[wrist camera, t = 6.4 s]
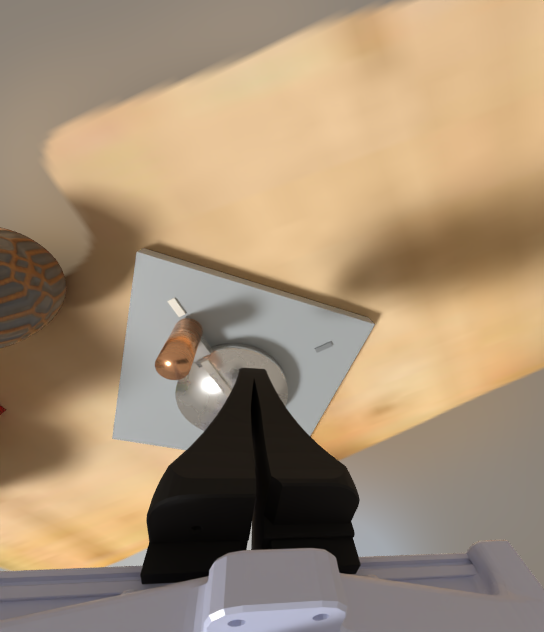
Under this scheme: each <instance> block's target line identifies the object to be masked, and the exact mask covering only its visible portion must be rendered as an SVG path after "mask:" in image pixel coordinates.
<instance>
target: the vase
mask: <svg viewBox="0 0 544 632" xmlns="http://www.w3.org/2000/svg"><path fill="white" fill-rule="evenodd" d="M65 295H66V282H65V277H64V274H63V271H62V269H61V267H60V265H59V264H58V262H57V261H56V259H55V258H54V257H53V256H52V255H51V254H50V253H49V252H48V251H47V250H46V249H45V248H43V247H42V246H41V245H40V244H38V243H37V242H35V241H34V240H32V239H30V238H28V237H26V236H24V235H22V234H20V233H17V232H14V231H11V230H8V229H5V228H1V227H0V348H4V347H7V346H10V345H12V344H15V343H17V342H20V341H22V340H24V339H26V338H27V337H29V336H31V335H33V334H34V333H36V332H37V331H39V330H40V329H41V328H43V327H44V326H45V325H46V324H48V323H49V322H50V321H51V320H52V319H53V317H54V316H55V315H56V314H57V312H58V311H59V309H60V308H61V306H62V304H63V301H64V298H65Z"/></svg>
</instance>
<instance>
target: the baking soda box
mask: <svg viewBox="0 0 544 632" xmlns="http://www.w3.org/2000/svg"><path fill="white" fill-rule="evenodd" d="M5 410H6V409H4V408H3V407H2V406H0V415H1V414H2V413H3V412H4V411H5Z"/></svg>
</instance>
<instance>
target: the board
mask: <svg viewBox="0 0 544 632" xmlns="http://www.w3.org/2000/svg"><path fill="white" fill-rule="evenodd" d="M185 318H190V319H194V320H196V321H197V322H198V323H199V324H200V325H201V326H202V329H203V333H202V336H203V337H204V339H205V340H206V341H207V343H208V344H209V346H210V347H211V346H214V345H218V344H224V343H242V344H248V345H251V346H255V347H257V348H260V349H262V350H264V351H265V352H267V353H269V354H270V355H271V356H273V357H274V358H275V359H276V360H277V361H278V363H279V364H280V365H281V367H282V369H283V371H284V373H285V377H286V381H287V387H288V399H287V403H286V408H287V409H288V411H289V412H290V414H291V415H292V416H293V418H294V419H295V420H296V421H297V423H298V424H299V425H300V426H301V427H302V428H303V429H304V431H305V432H306V433H307V434H308V435H309V436H311V434H312V432H313V430H314V429H315V427H316V425H317V423H318V422H319V420H320V418H321V417H322V415H323V413H324V411H325V410H326V408H327V406H328V404H329V403H330V401H331V399H332V398H333V396H334V394H335V392H336V391H337V389H338V387H339V385H340V384H341V382H342V380H343V379H344V377H345V375H346V373H347V372H348V370H349V368H350V366H351V365H352V363H353V361H354V360H355V358H356V356H357V354H358V353H359V351H360V349H361V347H362V346H363V344H364V342H365V341H366V339H367V337H368V335H369V334H370V332H371V330H372V328H373V327H374V325H375V324H374V323H373V322H372V321H371V320H370V319H369V318H368V317H365V316H362V315H358V314H355V313H352V312H349V311H345V310H342V309H339V308H336V307H333V306H329V305H326V304H323V303H320V302H316V301H313V300H310V299H307V298H303V297H300V296H297V295H294V294H291V293H287V292H284V291H281V290H278V289H274V288H271V287H268V286H265V285H261V284H258V283H255V282H252V281H249V280H245V279H242V278H239V277H236V276H232V275H229V274H226V273H223V272H219V271H216V270H213V269H210V268H207V267H203V266H200V265H197V264H194V263H190V262H187V261H184V260H181V259H177V258H174V257H171V256H168V255H165V254H161V253H158V252H155V251H152V250H148V249H145V248H143V249H141V250H139V251H137V253H136V261H135V268H134V276H133V284H132V291H131V299H130V307H129V314H128V322H127V330H126V337H125V345H124V353H123V360H122V368H121V376H120V384H119V391H118V399H117V407H116V414H115V422H114V430H113V437H112V439H117V440H124V441H130V442H137V443H143V444H150V445H156V446H163V447H169V448H176V449H182V450H187V449H188V448H189V447H190V446H191V445H192V444H193V443H194V442H195V441H196V440H197V439H198V438H199V437H200V435H201V434H202V433H203V432H204V431H203V430H201V429H199V428H197V427H196V426H194V425H193V424H191V423H190V422H189V421H188V420H187V419H186V418H185V417H184V416H183V414H182V413H181V411H180V410H179V408H178V405H177V402H176V396H175V391H176V385H177V382H178V380H169V379H166V378H164V377H162V376H161V375H159V374H158V372H157V371H156V369H155V361H156V359H157V357H158V355H159V353H160V352H161V350H162V348H163V346H164V344H165V343H166V341H167V339H168V337H169V336H170V334H171V332H172V330H173V328H174V327H175V325H176V323H177V322H178V321H179V320H181V319H185Z"/></svg>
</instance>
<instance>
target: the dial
mask: <svg viewBox="0 0 544 632" xmlns="http://www.w3.org/2000/svg"><path fill="white" fill-rule="evenodd" d="M202 333H203V329H202V326H201V325H200V324H199V323H198V322H197V321H196V320H194V319H190V318H185V319H181V320H179V321H178V322H177V323H176V325H175V327H174V328H173V330H172V332H171V334H170V336H169V337H168V339H167V341H166V343H165V344H164V346H163V348H162V350H161V352H160V353H159V355H158V357H157V359H156V361H155V369H156V371H157V372H158V374H159V375H161V376H162V377H164V378H166V379H169V380H178V382H177V385H176V391H175V396H176V402H177V405H178V408H179V410H180V411H181V413H182V414H183V416H184V417H185V418H186V419H187V420H188V421H189V422H190V423H191V424H193V425H194V426H196V427H197V428H199V429H201V430H203V431H205V430H206V428H207V427H208V426H209V425H210V423H211V422H212V421H213V420H214V418H215V417H216V416H217V414H218V413H219V411H220V410H221V408H222V407H223V405H224V403H225V402H226V400H227V398H228V397H229V395H230V393H231V391H232V389H233V387H234V384H235V382H236V380H237V377H238V373H239V369H240V368H258V369H265V370H266V371H267V374H268V376H269V378H270V380H271V382H272V384H273V386H274V388H275V390H276V392H277V394H278V395H279V397H280V399H281V400H282V402H283V403H284V405H285V406H286V403H287V399H288V387H287V381H286V377H285V373H284V371H283V369H282V367H281V365H280V364H279V363H278V361H277V360H276V359H275V358H274V357H273V356H271V355H270V354H269V353H267V352H265V351H264V350H262V349H260V348H257V347H255V346H251V345H248V344H242V343H224V344H218V345H214V346H211V347H210V346H209V344H208V343H207V341H206V340H205V339H204V337H203V336H202Z"/></svg>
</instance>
